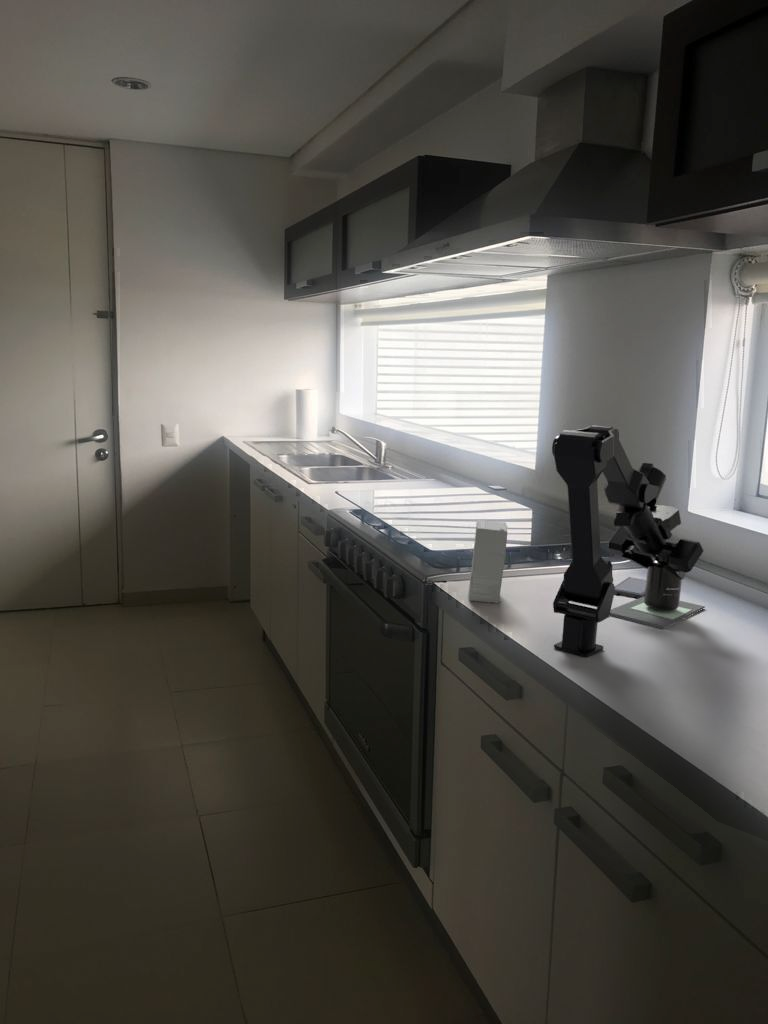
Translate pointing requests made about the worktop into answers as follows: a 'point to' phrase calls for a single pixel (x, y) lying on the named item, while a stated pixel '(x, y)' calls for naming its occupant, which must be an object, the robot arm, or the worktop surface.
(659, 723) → the worktop surface
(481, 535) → the skincare box
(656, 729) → the worktop surface
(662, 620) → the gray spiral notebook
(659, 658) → the worktop surface
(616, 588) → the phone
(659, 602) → the supplement bottle
